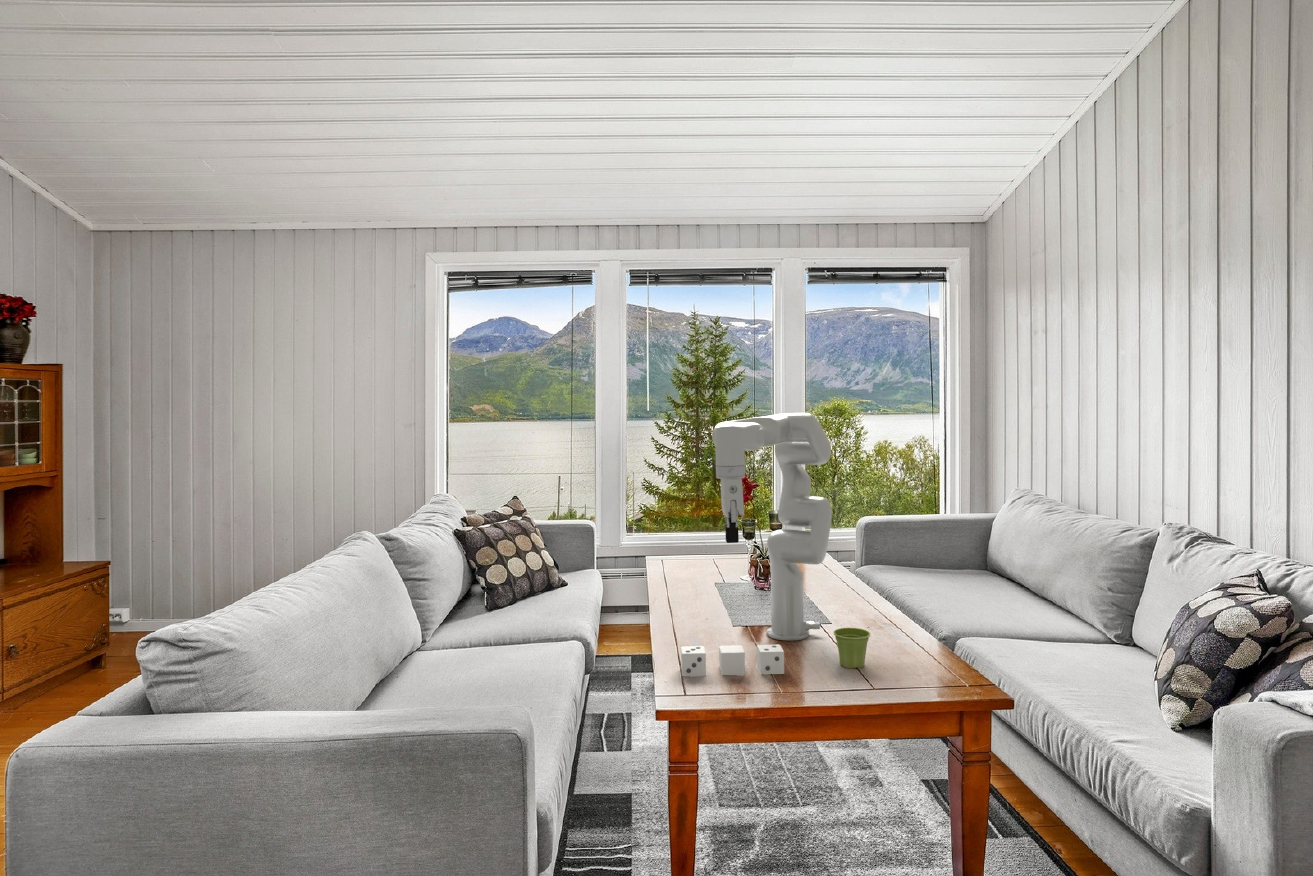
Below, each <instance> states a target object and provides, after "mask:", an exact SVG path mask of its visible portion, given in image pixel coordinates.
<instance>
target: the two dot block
mask: <svg viewBox="0 0 1313 876" xmlns="http://www.w3.org/2000/svg"><path fill="white" fill-rule="evenodd" d="M756 656H757V657H756V659H757V660H756V661H757V663H756V664H757V665H756V666H757V667H758V668H757V667H756V668H757V669H759V670H758V671H759V675H761V674H784V675H785V651H784V650H783V647H782V646H781V644H780V643H779V644H756Z"/></svg>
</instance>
